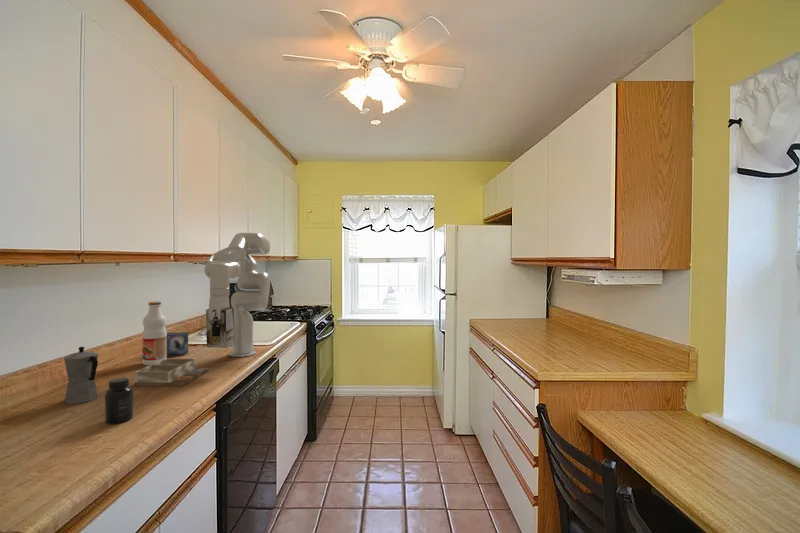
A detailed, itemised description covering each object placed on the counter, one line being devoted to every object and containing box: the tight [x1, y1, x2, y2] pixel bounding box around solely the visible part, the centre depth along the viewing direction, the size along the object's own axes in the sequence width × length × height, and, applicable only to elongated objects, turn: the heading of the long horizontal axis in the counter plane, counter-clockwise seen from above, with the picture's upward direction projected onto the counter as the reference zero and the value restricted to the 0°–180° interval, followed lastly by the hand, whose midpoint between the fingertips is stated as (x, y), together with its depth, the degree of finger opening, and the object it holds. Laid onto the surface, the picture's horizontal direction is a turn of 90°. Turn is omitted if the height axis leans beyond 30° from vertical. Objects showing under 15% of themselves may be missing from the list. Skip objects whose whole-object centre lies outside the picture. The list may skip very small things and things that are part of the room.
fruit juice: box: [141, 301, 168, 366], centre depth 175 cm, size 9×9×28 cm
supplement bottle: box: [104, 377, 134, 425], centre depth 115 cm, size 7×7×12 cm
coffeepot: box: [63, 346, 99, 405], centre depth 130 cm, size 15×9×18 cm, turn 65°
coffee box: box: [205, 307, 234, 349], centre depth 162 cm, size 9×6×16 cm
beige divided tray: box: [134, 357, 209, 387], centre depth 155 cm, size 20×18×5 cm
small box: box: [167, 331, 189, 357], centre depth 192 cm, size 11×6×10 cm, turn 102°
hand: (220, 333), depth 163 cm, fingers closed on coffee box, 6 cm apart
